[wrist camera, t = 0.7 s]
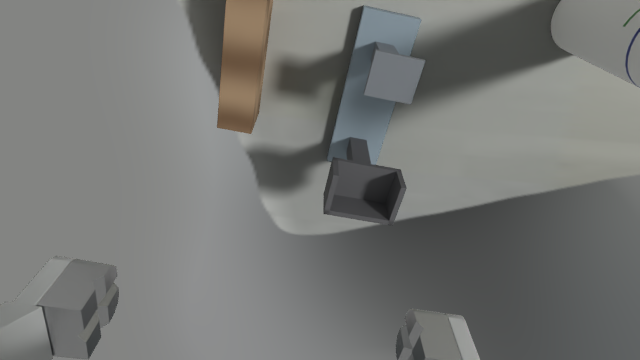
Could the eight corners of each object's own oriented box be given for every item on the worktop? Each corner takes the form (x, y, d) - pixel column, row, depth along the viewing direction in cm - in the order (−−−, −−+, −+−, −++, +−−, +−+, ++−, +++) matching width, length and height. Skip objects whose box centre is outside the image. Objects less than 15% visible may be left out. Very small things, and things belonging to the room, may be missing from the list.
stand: (358, 4, 42) (370, 30, 31) (423, 18, 42) (458, 49, 31) (323, 155, 51) (322, 217, 40) (377, 165, 52) (391, 229, 41)
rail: (240, -34, 40) (228, -29, 35) (276, -26, 41) (269, -20, 35) (228, 106, 48) (217, 127, 43) (259, 112, 48) (251, 133, 43)
